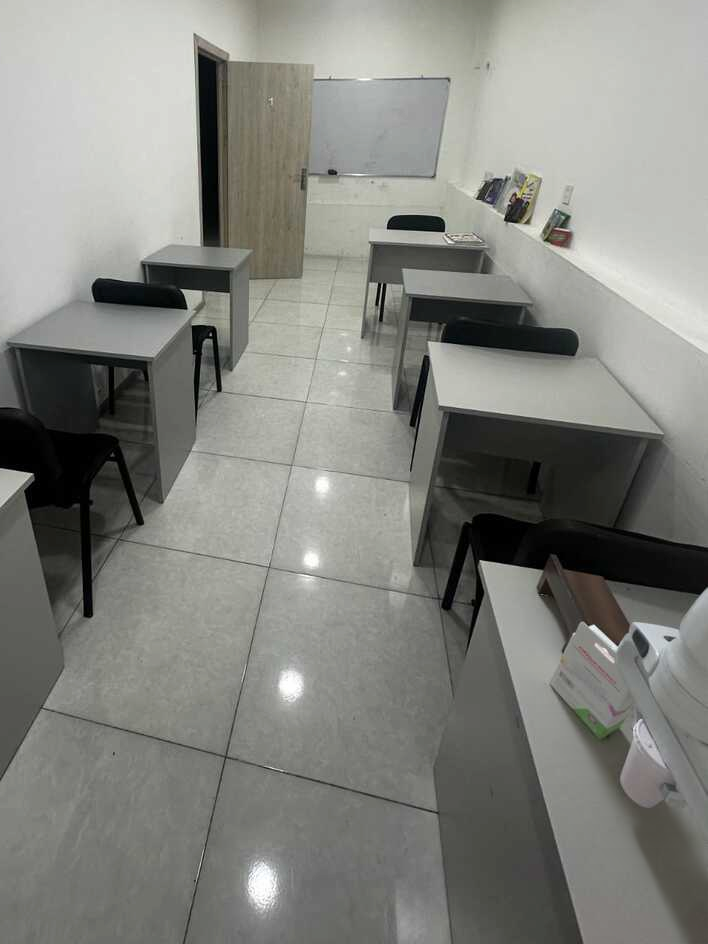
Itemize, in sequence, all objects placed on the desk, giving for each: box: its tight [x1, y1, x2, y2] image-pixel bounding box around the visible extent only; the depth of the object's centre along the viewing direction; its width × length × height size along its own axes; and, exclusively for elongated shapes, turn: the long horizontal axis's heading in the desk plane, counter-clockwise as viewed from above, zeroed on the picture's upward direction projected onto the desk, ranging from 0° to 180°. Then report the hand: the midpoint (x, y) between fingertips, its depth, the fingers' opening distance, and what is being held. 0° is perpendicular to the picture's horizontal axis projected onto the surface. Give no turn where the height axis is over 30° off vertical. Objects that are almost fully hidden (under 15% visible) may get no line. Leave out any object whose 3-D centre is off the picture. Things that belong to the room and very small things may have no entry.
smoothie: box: [619, 718, 676, 809], centre depth 58 cm, size 6×6×14 cm
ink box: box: [549, 622, 635, 741], centre depth 70 cm, size 9×5×15 cm, turn 22°
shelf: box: [535, 553, 631, 655], centre depth 83 cm, size 10×14×9 cm
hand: (653, 765), depth 59 cm, fingers closed on smoothie, 5 cm apart
